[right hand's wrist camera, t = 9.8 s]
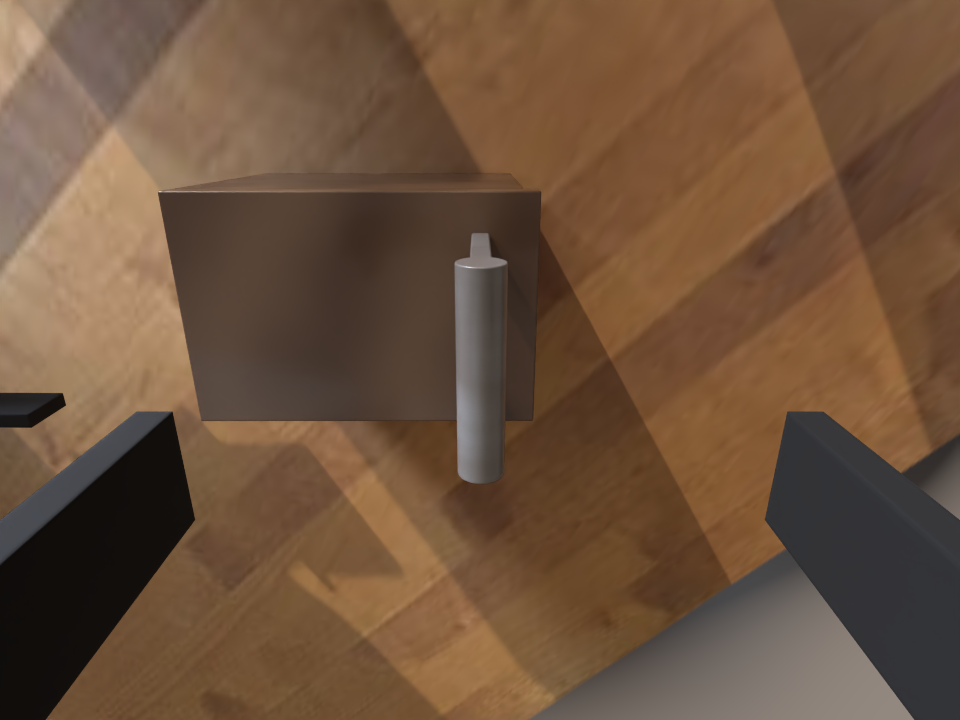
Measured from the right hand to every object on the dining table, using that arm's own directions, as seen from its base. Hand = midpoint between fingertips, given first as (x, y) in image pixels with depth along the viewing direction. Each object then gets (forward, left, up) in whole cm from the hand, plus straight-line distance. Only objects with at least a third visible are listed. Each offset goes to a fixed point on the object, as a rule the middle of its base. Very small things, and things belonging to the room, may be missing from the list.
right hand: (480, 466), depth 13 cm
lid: (-2, -4, -13) cm, 14 cm away
